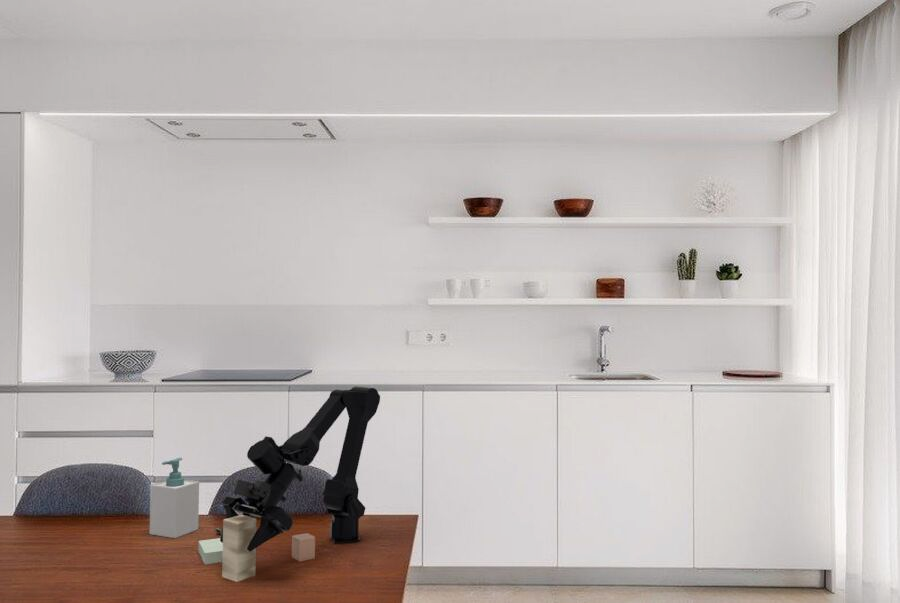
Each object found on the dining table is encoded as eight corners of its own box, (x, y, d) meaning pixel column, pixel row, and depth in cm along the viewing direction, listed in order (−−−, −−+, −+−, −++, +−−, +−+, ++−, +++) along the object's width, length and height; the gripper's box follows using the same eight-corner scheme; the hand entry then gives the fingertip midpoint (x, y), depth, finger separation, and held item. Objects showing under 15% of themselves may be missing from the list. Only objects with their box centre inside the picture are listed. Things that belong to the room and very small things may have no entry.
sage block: (240, 547, 181) (240, 535, 181) (248, 560, 172) (249, 547, 172) (198, 553, 177) (198, 540, 177) (204, 566, 168) (204, 553, 168)
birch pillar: (240, 570, 164) (241, 514, 164) (255, 575, 161) (256, 518, 161) (222, 576, 160) (223, 519, 160) (236, 582, 157) (237, 523, 157)
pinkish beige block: (306, 553, 176) (307, 532, 176) (314, 558, 173) (315, 537, 173) (291, 557, 174) (292, 535, 174) (299, 561, 170) (299, 540, 171)
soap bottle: (148, 534, 189) (150, 460, 189) (173, 525, 197) (174, 454, 197) (174, 539, 186) (176, 463, 186) (198, 529, 194) (200, 457, 194)
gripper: (229, 460, 170) (186, 518, 161) (284, 471, 159) (241, 534, 150) (255, 487, 176) (216, 545, 167) (310, 500, 165) (270, 562, 156)
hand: (234, 546), depth 160 cm, fingers open, 9 cm apart
